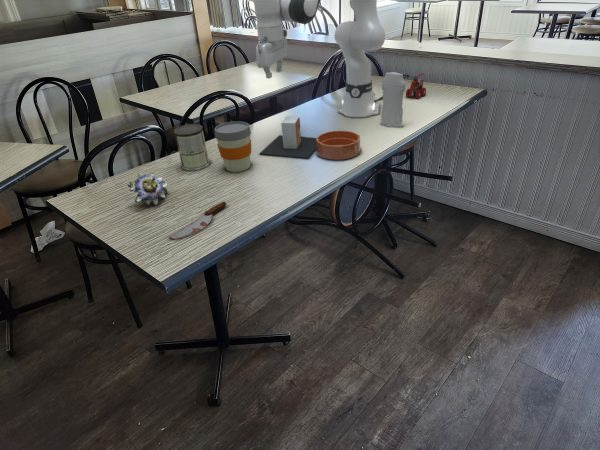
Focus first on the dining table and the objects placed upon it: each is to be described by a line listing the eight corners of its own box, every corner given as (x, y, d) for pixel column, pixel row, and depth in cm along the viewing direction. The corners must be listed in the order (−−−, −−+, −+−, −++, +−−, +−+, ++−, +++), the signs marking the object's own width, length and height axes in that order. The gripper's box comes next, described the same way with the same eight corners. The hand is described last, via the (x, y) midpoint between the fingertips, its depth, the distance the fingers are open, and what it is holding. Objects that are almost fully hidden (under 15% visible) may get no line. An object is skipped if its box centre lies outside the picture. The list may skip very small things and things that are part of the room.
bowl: (324, 142, 168) (324, 129, 165) (364, 145, 163) (364, 131, 160) (311, 158, 156) (310, 144, 153) (353, 162, 150) (353, 147, 147)
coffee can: (176, 165, 158) (168, 129, 150) (200, 157, 164) (192, 122, 156) (191, 173, 151) (183, 135, 144) (215, 163, 157) (208, 127, 150)
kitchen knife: (179, 241, 113) (167, 234, 115) (180, 246, 114) (168, 238, 116) (234, 205, 126) (222, 199, 128) (234, 209, 127) (223, 203, 129)
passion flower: (160, 218, 136) (137, 203, 125) (138, 205, 140) (114, 189, 129) (180, 190, 138) (160, 172, 127) (157, 178, 142) (136, 160, 132)
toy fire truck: (403, 98, 212) (404, 77, 206) (415, 92, 220) (416, 72, 214) (415, 100, 208) (417, 78, 202) (427, 94, 216) (429, 73, 210)
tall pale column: (378, 124, 182) (379, 72, 170) (382, 121, 184) (385, 69, 173) (400, 128, 176) (403, 74, 164) (404, 125, 178) (408, 72, 167)
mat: (279, 136, 177) (279, 135, 177) (324, 139, 171) (324, 138, 170) (259, 154, 162) (259, 153, 161) (308, 159, 155) (307, 157, 155)
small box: (297, 149, 162) (295, 123, 157) (283, 149, 163) (280, 122, 158) (301, 141, 169) (299, 116, 163) (288, 141, 170) (286, 116, 164)
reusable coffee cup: (217, 164, 157) (210, 125, 149) (249, 157, 160) (243, 119, 152) (225, 177, 147) (218, 136, 139) (259, 169, 150) (254, 128, 142)
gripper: (266, 40, 141) (270, 82, 148) (288, 30, 157) (292, 68, 164) (249, 40, 143) (254, 81, 151) (273, 30, 159) (277, 68, 166)
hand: (274, 74), depth 158 cm, fingers open, 8 cm apart
